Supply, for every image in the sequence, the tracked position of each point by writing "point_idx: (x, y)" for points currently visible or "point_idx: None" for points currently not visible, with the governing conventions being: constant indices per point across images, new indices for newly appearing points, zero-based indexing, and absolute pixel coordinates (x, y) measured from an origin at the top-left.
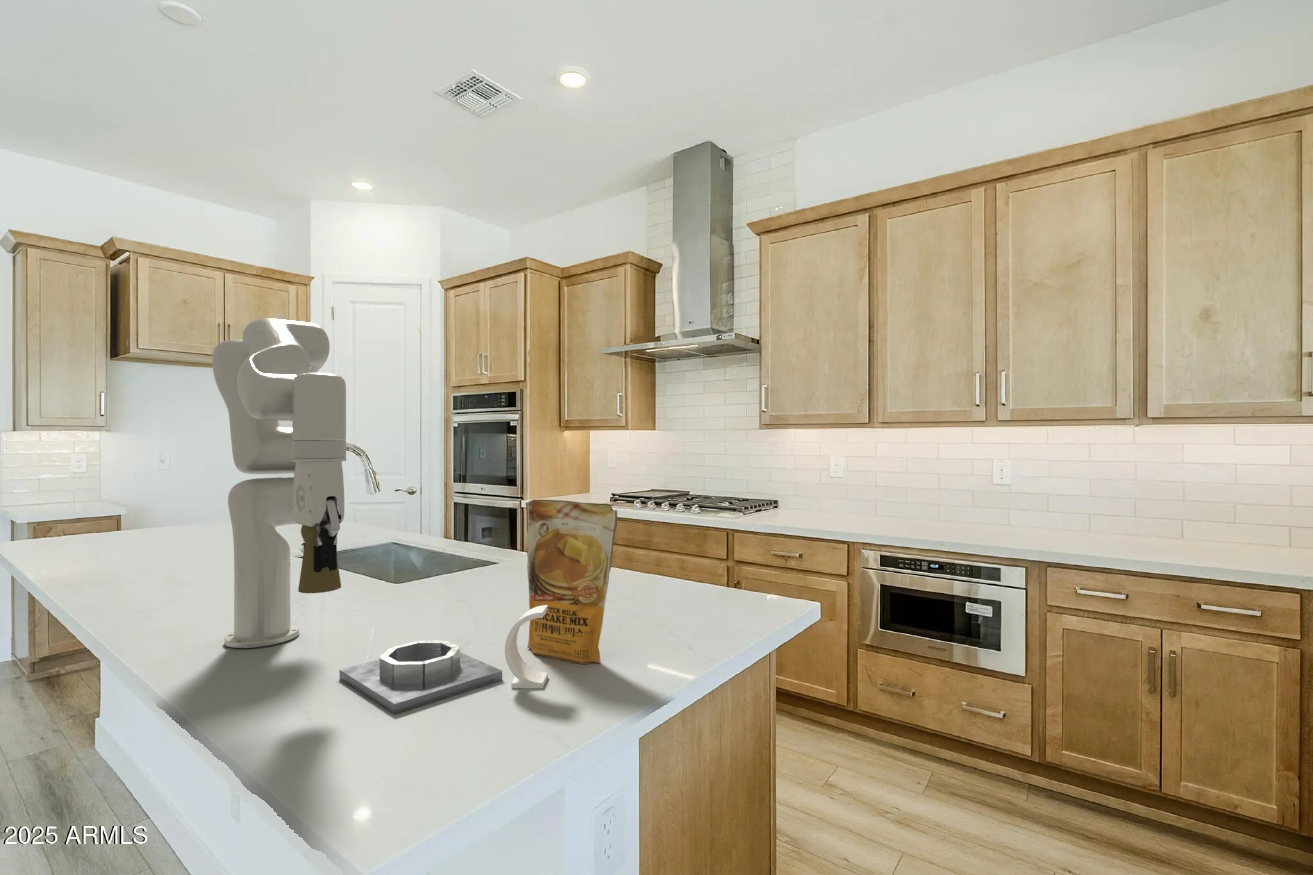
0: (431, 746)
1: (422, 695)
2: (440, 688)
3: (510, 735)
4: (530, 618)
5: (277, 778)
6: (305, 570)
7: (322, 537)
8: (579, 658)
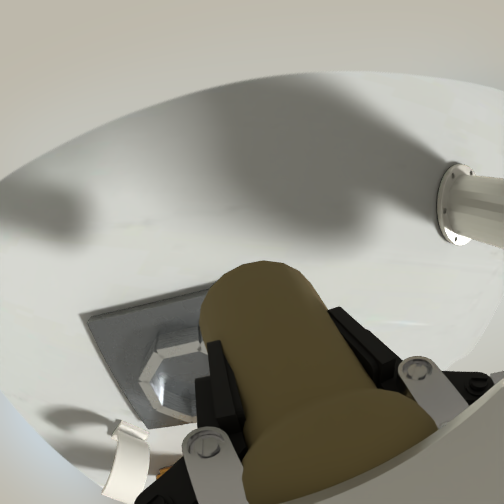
0: (16, 324)
1: (102, 353)
2: (116, 373)
3: (24, 378)
4: (105, 485)
5: (6, 190)
6: (244, 312)
7: (188, 482)
8: (162, 471)
